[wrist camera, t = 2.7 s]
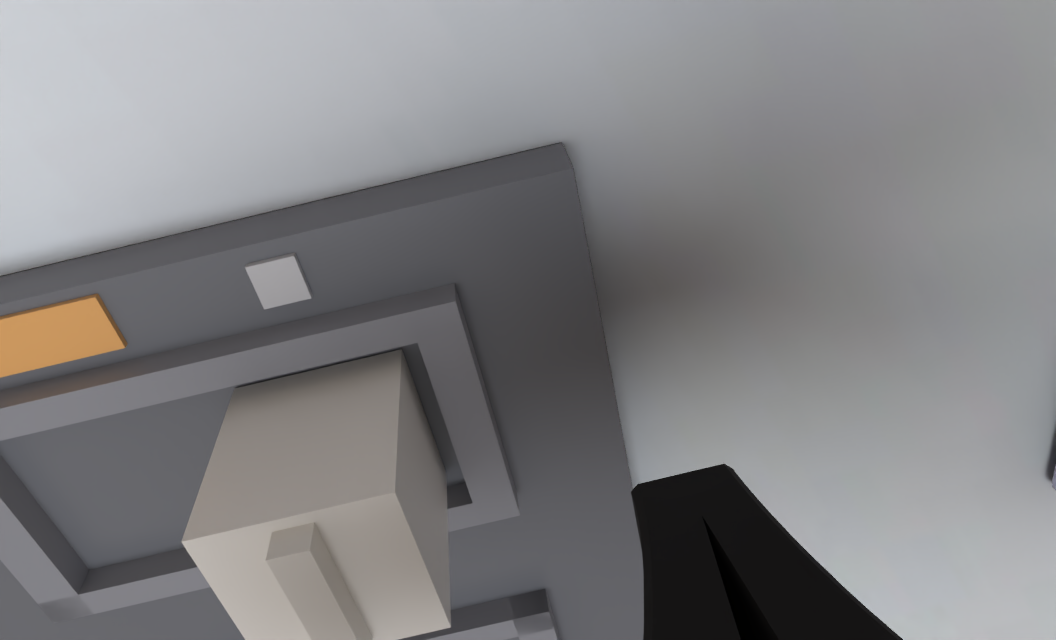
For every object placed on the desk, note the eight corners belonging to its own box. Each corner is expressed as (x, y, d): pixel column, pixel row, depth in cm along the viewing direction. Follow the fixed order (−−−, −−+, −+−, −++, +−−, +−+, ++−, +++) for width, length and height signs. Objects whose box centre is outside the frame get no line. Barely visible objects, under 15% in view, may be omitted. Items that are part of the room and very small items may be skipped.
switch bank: (562, 142, 13) (579, 182, 12) (664, 684, 22) (682, 747, 20) (-231, 332, 13) (-315, 395, 12) (178, 794, 22) (160, 865, 20)
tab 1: (401, 348, 14) (393, 519, 10) (446, 473, 15) (452, 655, 12) (234, 388, 14) (171, 571, 10) (296, 507, 15) (258, 700, 12)
